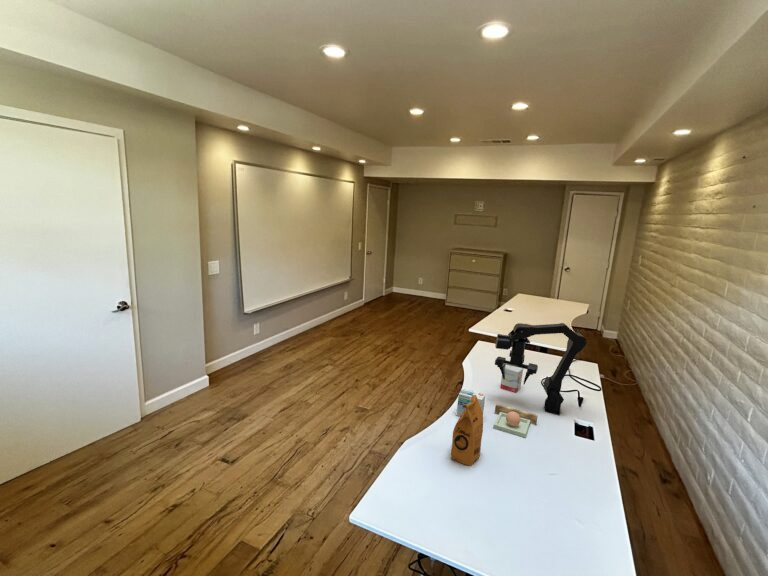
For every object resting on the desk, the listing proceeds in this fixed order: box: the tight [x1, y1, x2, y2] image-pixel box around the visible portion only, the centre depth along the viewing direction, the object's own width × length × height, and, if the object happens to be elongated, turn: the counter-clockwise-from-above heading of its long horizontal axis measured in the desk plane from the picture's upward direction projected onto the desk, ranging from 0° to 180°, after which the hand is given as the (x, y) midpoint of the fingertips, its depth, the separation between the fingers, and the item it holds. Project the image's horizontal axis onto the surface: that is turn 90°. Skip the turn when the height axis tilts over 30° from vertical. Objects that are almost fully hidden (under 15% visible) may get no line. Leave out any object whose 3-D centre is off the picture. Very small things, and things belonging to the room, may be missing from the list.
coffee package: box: [450, 395, 484, 467], centre depth 140 cm, size 10×12×22 cm
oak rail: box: [494, 403, 539, 426], centre depth 171 cm, size 18×2×4 cm, turn 61°
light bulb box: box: [456, 388, 486, 418], centre depth 170 cm, size 11×7×11 cm, turn 62°
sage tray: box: [492, 412, 531, 439], centre depth 165 cm, size 13×13×2 cm
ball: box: [506, 411, 520, 426], centre depth 164 cm, size 6×6×6 cm
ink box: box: [499, 365, 524, 394], centre depth 202 cm, size 9×9×12 cm
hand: (513, 381), depth 182 cm, fingers open, 9 cm apart
